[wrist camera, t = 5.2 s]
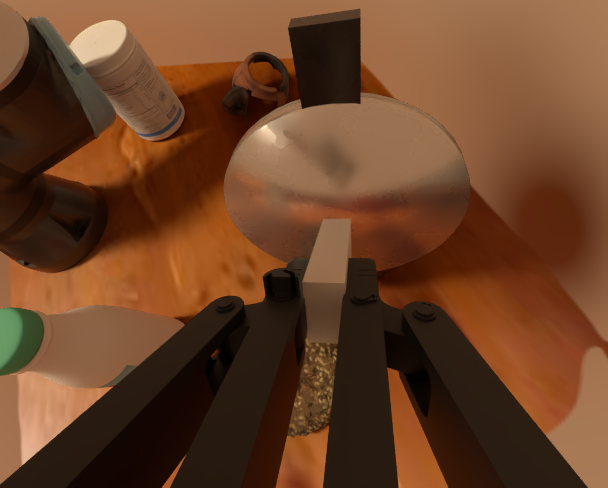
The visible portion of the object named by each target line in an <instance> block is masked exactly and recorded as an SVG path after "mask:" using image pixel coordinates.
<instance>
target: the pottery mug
mask: <svg viewBox="0 0 608 488" xmlns="http://www.w3.org/2000/svg"><path fill="white" fill-rule="evenodd" d="M251 62H253V63H257V62H269V63H270V64H271V65H272V66H273V68H274V69H277V70H278V71H279V72H280V73H281V74H282V76H283V83H282V84H281V85H280V91H279V92H278V93H277V89H276V88H275V87H266V86H264V85H262V84H260V83H258V82H257V81H255V80H254V78H253V77H252V76H251V74H250V72H249V64H250V63H251ZM288 82H289V75H288V72H287V69H286V67H285V66H284V64H283V63H282V62H281V61H280V60H279V59H278V58H276V57H275V56H273V55H271V54H269V53H265V52H256V53H253V54H251V55H249V56H248V57H247V58H246V60H245V62H243V63H242V64H240V65H239V66H238V67H237V69H236V71H235V73H234V76H233V80H232V88H231V89H230V90H229V91H228V93H227V94H226V95H225V97H224V98H223V100H222V105H223V108H224V110H225V111H226V112H228V113H229V114H232V115H237V114H241V115H244V116H247V115H248V113H247V106H248V103H249V94H248V91H247V90H250V91H252V94H251V96H253V97H257V98H260V99H265V100H269V101H277V108H279V107H281V106H284V105H285V102H286V101H287V100H288V96H289V83H288ZM277 108H276V109H277Z"/></svg>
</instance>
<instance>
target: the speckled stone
mask: <svg viewBox="0 0 608 488" xmlns="http://www.w3.org/2000/svg"><path fill="white" fill-rule="evenodd" d="M337 347H338V344H332V343H316V342H308V340H307V334H306V338H305V349H306V352H305V357H304V361H303V366H302V370H301V375H300V379H299V384H298V388H297V393H296V397H295V402H294V406H293V411H292V415H291V420H290V424H289V429H288V433H287V436H291V437H294V436H295V435H300V436H301V435H302V436H307V435H308V434H309V433H310V432H313V431H314V430H317V429H319V428H321V427H324V426H325V425H326V424H327V423H328V422H329V421H330V415H331V405H332V395H333V386H334V376H335V366H336V357H337Z"/></svg>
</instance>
